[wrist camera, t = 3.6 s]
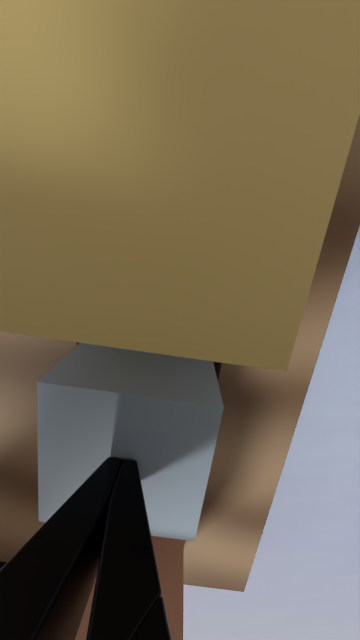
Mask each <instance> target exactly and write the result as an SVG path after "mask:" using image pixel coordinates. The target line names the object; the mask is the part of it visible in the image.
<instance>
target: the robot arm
mask: <svg viewBox="0 0 360 640" xmlns="http://www.w3.org/2000/svg"><path fill="white" fill-rule="evenodd" d="M96 575H97V577H96ZM95 578H96V583H95V589H94V595H93V601H92V607H91V613H90V619H89V625H88V631H87V637H86V640H172V639H171V635H170V630H169V625H168V621H167V616H166V610H165V605H164V600H163V597H162V590H161V585H160V580H159V574H158V569H157V564H156V558H155V553H154V548H153V543H152V537H151V532H150V527H149V521H148V516H147V511H146V506H145V500H144V495H143V490H142V484H141V479H140V474H139V469H138V463H137V461H136V460H133V459H123V461H122V459H121V458H118V457H108V458H107V459H106V460H105V461H104V462H103V463H102V464H101V465H100V466H99V467H98V468H97V469H96V470H95V471H94V472H93V473H92V474H91V475H90V476H89V478H88V479H87V480H86V481H85V482H84V483H83V484H82V485H81V486H80V487H79V488H78V489H77V490H76V491H75V492H74V493H73V494H72V495H71V496H70V497H69V498H68V499H67V500H66V502H65V503H64V504H63V505H62V506H61V507H60V508H59V509H58V510H57V511H56V512H55V513H54V514H53V515H52V516H51V517H50V518H49V519H48V520H47V521H46V522H45V523H44V524H43V526H42V527H41V528H40V529H39V530H38V531H37V532H36V533H35V534H34V535H33V536H32V537H31V538H30V539H29V540H28V541H27V542H26V543H25V544H24V545H23V546H22V547H21V548H20V550H19V551H18V552H17V553H16V554H15V555H14V556H13V557H12V558H11V559H10V560H9V561H8V562H1V561H0V640H75V638H76V635H77V632H78V629H79V626H80V623H81V620H82V617H83V614H84V611H85V608H86V605H87V602H88V599H89V596H90V593H91V590H92V587H93V584H94V581H95Z"/></svg>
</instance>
